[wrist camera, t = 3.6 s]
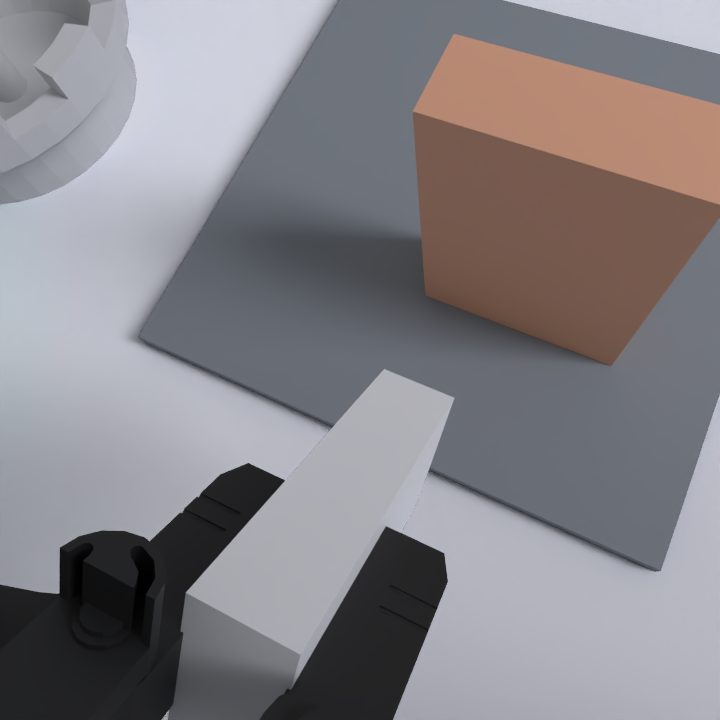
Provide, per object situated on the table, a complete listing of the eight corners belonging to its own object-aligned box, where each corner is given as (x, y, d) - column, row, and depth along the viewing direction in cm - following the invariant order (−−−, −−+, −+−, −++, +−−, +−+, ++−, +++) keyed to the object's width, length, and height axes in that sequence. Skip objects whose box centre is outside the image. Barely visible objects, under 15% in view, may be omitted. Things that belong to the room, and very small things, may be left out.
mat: (815, 91, 26) (824, 80, 25) (654, 571, 21) (660, 570, 20) (362, -24, 31) (360, -36, 30) (144, 342, 26) (137, 336, 25)
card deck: (634, 306, 23) (760, 115, 14) (611, 366, 23) (727, 207, 13) (450, 242, 25) (454, 33, 16) (425, 295, 24) (412, 111, 15)
